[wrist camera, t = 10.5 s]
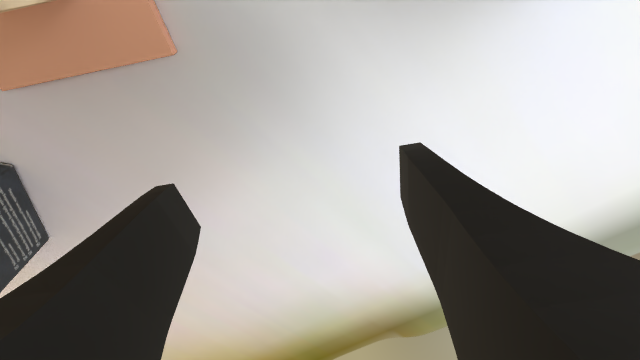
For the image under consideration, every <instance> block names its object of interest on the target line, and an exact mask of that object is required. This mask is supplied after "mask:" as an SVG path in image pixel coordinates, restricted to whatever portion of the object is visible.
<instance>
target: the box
mask: <svg viewBox="0 0 640 360" xmlns="http://www.w3.org/2000/svg"><path fill="white" fill-rule="evenodd" d="M48 239H49V237H48V235H47V233H46V231H45V229H44V227H43V225H42V223H41V221H40V219H39V217H38V216H37V214H36V212H35V210H34V208H33V206H32V204H31V202H30V200H29V198H28V196H27V194H26V192H25V190H24V188H23V185H22V184H21V182H20V180H19V178H18V175H17V173H16V171H15V169H14V167H13V166H12V165H9V164H3V163H0V292H1V291H2V290H3V289H4V288H5V287H6V286H7V284H8V283H9V282H10V281H11V280H12V279H13V278H14V277H15V276H16V275H17V274H18V272H19V271H20V270H21V269H22V268H23V267H24V266H25V265H26V264H27V263H28V261H29V260H30V259H31V258H32V257H33V256H34V255H35V254H36V253H37V252H38V251H39V249H40V248H41V247H42V246H43V245H44V244H45V243H46V242H47V241H48Z"/></svg>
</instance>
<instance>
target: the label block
mask: <svg viewBox="0 0 640 360" xmlns="http://www.w3.org/2000/svg"><path fill="white" fill-rule="evenodd" d="M51 1H56V0H0V13H4V12H8V11H12V10H17V9H21V8H25V7H30V6H34V5H38V4H43V3H47V2H51Z"/></svg>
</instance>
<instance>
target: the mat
mask: <svg viewBox="0 0 640 360" xmlns="http://www.w3.org/2000/svg"><path fill="white" fill-rule="evenodd" d="M175 53H177V50H176V48H175V46H174V44H173V41H172V39H171V37H170V35H169V33H168V30H167V28H166V26H165V24H164V22H163V19H162V17H161V15H160V13H159V11H158V9H157V6H156V4H155V2H154V0H56V1H51V2H47V3H43V4H38V5H34V6H30V7H25V8H21V9H17V10H12V11H8V12H4V13H0V89H1V90H2V91H6V90H10V89H15V88H20V87H25V86H29V85H34V84H39V83H43V82H48V81H53V80H58V79H62V78H67V77H72V76H77V75H81V74H86V73H91V72H96V71H100V70H105V69H110V68H114V67H119V66H124V65H129V64H133V63H138V62H143V61H148V60H152V59H157V58H162V57H166V56H171V55H174V54H175Z"/></svg>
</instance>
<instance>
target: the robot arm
mask: <svg viewBox="0 0 640 360" xmlns="http://www.w3.org/2000/svg"><path fill="white" fill-rule="evenodd" d="M399 154H400V193H401V200H402V204H403V208H404V211H405V215H406V218H407V222H408V225H409V228H410V230H411V232H412V235H413V237H414V240H415V242H416V244H417V247H418V249H419V252H420V254H421V256H422V259H423V261H424V263H425V266H426V268H427V271H428V273H429V275H430V278H431V280H432V282H433V285H434V287H435V290H436V292H437V295H438V298H439V300H440V303H441V306H442V309H443V312H444V315H445V319H446V322H447V325H448V328H449V331H450V335H451V338H452V341H453V344H454V348H455V351H456V354H457V358H458V360H640V260H637V259H635V258H632V257H629V256H627V255H624V254H622V253H619V252H617V251H614V250H612V249H609V248H607V247H604V246H602V245H600V244H597V243H595V242H593V241H590V240H588V239H586V238H583V237H581V236H579V235H576V234H574V233H572V232H569V231H567V230H565V229H563V228H561V227H558V226H556V225H554V224H552V223H550V222H548V221H546V220H544V219H542V218H540V217H538V216H536V215H534V214H532V213H530V212H528V211H526V210H524V209H522V208H520V207H518V206H516V205H514V204H513V203H511V202H509V201H507V200H505V199H504V198H502V197H500V196H499V195H497V194H495V193H494V192H492V191H490V190H489V189H487V188H485V187H484V186H482V185H480V184H479V183H477V182H476V181H474V180H472V179H471V178H469V177H468V176H466V175H465V174H463V173H462V172H460V171H459V170H458V169H456V168H455V167H453V166H452V165H450V164H449V163H448V162H446V161H445V160H443V159H442V158H441V157H439V156H438V155H437V154H435V153H434V152H433V151H431V150H430V149H428V148H427V147H426V146H424V145H423V144H422V143H414V144H408V145H402V146H399ZM200 229H201V226H200V225H199V223H198V222H197V220H196V218H195V217H194V215H193V214H192V212H191V210H190V209H189V207H188V206H187V204H186V203H185V201H184V199H183V198H182V196H181V195H180V193H179V191H178V190H177V188H176V187H175V185H174V184H168V185H162V186H156V187H154V188H153V189H151V190H150V191H148V192H147V193H145V194H144V195H142V196H141V197H140V198H138V199H137V200H136V201H134V202H133V203H132V204H130V205H129V206H128V207H126V208H125V209H124V210H123V211H121V212H120V213H119V214H118V215H116V216H115V217H114V218H112V219H111V220H110V221H109V222H107V223H106V224H105V225H103V226H102V227H101V228H100V229H98V230H97V231H96V232H95V233H93V234H92V235H91V236H89V237H88V238H87V239H85V240H84V241H83V242H81V243H80V244H79V245H77V246H76V247H75V248H73V249H72V250H71V251H69V252H68V253H67V254H65V255H64V256H63V257H61V258H60V259H58V260H57V261H56V262H54V263H53V264H52V265H50V266H49V267H47V268H46V269H44V270H43V271H41V272H40V273H39V274H37V275H36V276H34V277H33V278H31V279H30V280H28V281H27V282H25V283H24V284H22V285H20V286H19V287H17V288H16V289H14V290H13V291H11V292H10V293H8V294H7V295H5V296H3V297H2V298H0V360H161V357H162V353H163V349H164V345H165V341H166V337H167V334H168V331H169V327H170V324H171V321H172V318H173V316H174V313H175V310H176V307H177V305H178V302H179V299H180V296H181V294H182V291H183V288H184V285H185V283H186V280H187V277H188V274H189V272H190V269H191V266H192V263H193V260H194V257H195V254H196V249H197V245H198V240H199V234H200Z"/></svg>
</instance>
